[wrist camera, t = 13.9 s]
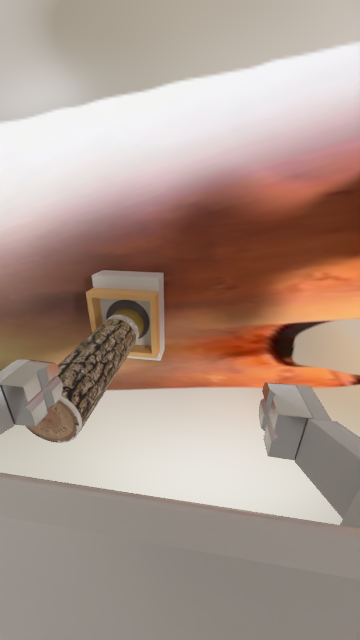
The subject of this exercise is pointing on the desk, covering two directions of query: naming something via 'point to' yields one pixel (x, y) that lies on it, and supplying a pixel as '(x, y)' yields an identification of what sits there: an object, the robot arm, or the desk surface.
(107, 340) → the paper tube
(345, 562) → the robot arm
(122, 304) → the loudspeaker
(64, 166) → the desk surface
